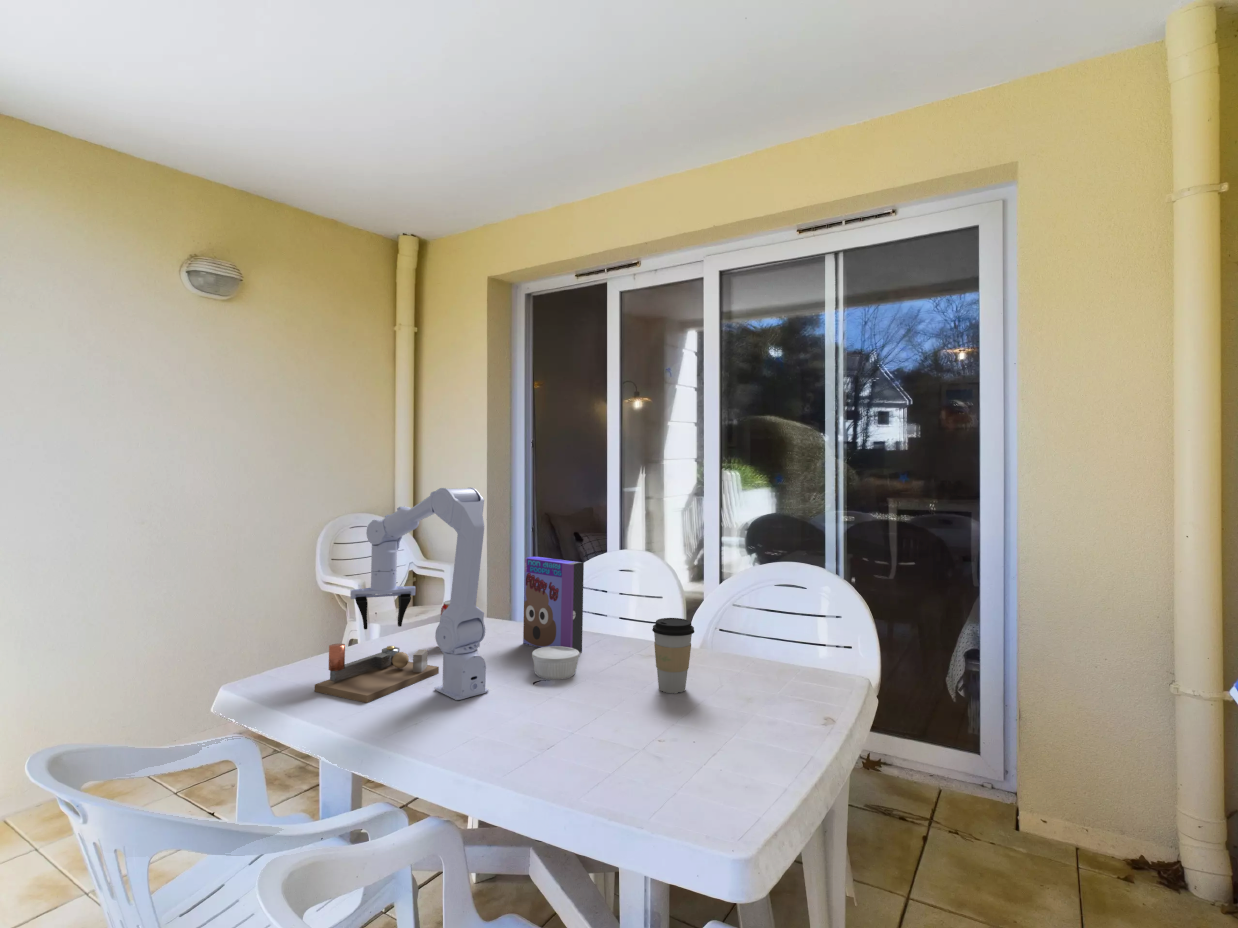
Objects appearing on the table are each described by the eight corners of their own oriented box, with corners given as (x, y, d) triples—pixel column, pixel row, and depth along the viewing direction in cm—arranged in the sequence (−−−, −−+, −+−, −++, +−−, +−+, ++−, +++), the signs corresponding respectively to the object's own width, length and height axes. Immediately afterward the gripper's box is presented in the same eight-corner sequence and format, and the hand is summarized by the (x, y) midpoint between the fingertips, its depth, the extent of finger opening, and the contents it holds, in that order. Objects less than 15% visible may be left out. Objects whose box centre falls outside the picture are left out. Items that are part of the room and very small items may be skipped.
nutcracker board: (389, 664, 158) (390, 641, 158) (438, 673, 152) (439, 649, 152) (314, 691, 138) (315, 665, 138) (367, 702, 132) (367, 675, 132)
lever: (390, 658, 157) (390, 626, 157) (404, 661, 155) (405, 628, 155) (323, 681, 139) (324, 645, 139) (338, 684, 137) (339, 648, 137)
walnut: (399, 664, 152) (400, 649, 152) (411, 666, 150) (412, 651, 150) (388, 668, 149) (389, 653, 149) (400, 670, 147) (401, 655, 147)
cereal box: (523, 643, 179) (524, 557, 179) (535, 640, 183) (537, 555, 183) (570, 655, 169) (571, 563, 169) (582, 651, 172) (583, 561, 173)
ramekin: (582, 668, 158) (582, 646, 158) (574, 682, 147) (575, 659, 147) (537, 665, 159) (538, 644, 159) (526, 680, 148) (527, 657, 148)
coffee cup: (644, 691, 142) (645, 623, 142) (661, 679, 150) (662, 615, 150) (684, 699, 137) (685, 628, 137) (699, 686, 146) (700, 620, 146)
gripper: (413, 566, 161) (412, 620, 160) (350, 569, 155) (349, 625, 154) (417, 570, 154) (416, 627, 154) (351, 573, 148) (350, 632, 148)
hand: (382, 627), depth 154 cm, fingers open, 7 cm apart
